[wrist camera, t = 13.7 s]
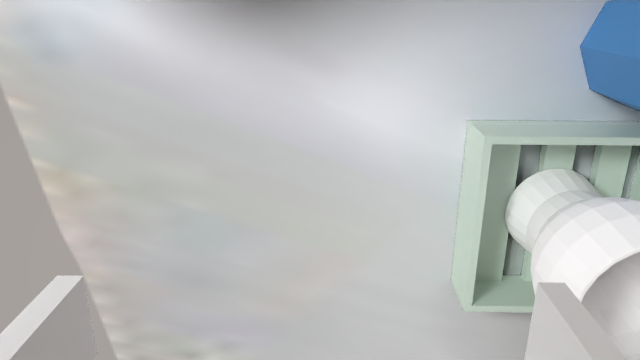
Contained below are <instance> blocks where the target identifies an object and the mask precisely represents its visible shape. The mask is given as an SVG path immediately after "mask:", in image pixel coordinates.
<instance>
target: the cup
mask: <svg viewBox="0 0 640 360" xmlns="http://www.w3.org/2000/svg"><path fill="white" fill-rule="evenodd" d="M505 221H506V225H507V229H508V231H509V232H510V234H511V236H512V237H513V238H514V239H515V240H516V241H517V242H518V243H519V244H520V245H521V246H522V247H523V248H525V249H526V250H527V251H528V252H529V253H531V254H532V257H531V268H530V270H531V276H532V283H533V288H534V293H535V295H536V290H537V284H538V282H551V283H566V285H567V286H568V287H569V288H570V290H571V291H572V292H573V293H574V295H575V296H576V297H577V298H578V300H579V301H580V302H581V303H582V305H583V306H584V307H585V308H586V310H587V311H588V312H589V313H590V315H591V316H592V317H593V318H594V320H595V321H596V322H597V323H598V325H599V326H600V327H601V328H602V330H603V331H604V332H605V333H606V335H607V336H608V337H609V338H610V339H611V341H612V342H613V343H614V344H615V346H616V347H617V348H618V349H619V351H620V352H621V353H622V354H623V356H624V357H625V358H626V359H627V360H640V201H635V200H630V199H625V198H620V197H602V196H601V195H600V193H599V192H598V191H597V190H596V188H595V187H594V186H593V185H592V184H591V183H590V182H589V181H588V180H587V179H586V178H585V177H584V176H582V175H580V174H578V173H576V172H575V171H571V170H566V169H548V170H545V171H541V172H538V173H536V174H534V175H532V176H530V177H528V178H527V179H525V180H524V181H523V182H522V183H521V184H520V185H519V186H518V187H516V189H515V190H514V192H513V193H512V195H511V196H510V198H509V201H508V203H507V206H506V213H505Z"/></svg>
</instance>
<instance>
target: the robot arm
mask: <svg viewBox="0 0 640 360" xmlns="http://www.w3.org/2000/svg"><path fill="white" fill-rule="evenodd" d="M96 355H97V348H96V342H95V337H94V331H93V326H92V321H91V315H90V310H89V304H88V299H87V294H86V288H85V283H84V277H83V276H56V278H54V280H52V282H51V283H50V284H49V285H48V286H47V287H46V288H45V289H44V290H43V291H42V292H41V293H40V294H39V295H38V296H37V297H36V298H35V299H34V300H33V301H32V302H31V303H30V304H29V305H28V306H27V307H26V308H25V309H24V310H23V311H22V312H21V313H20V314H19V315H18V317H16V318H15V319H14V320H13V322H12V323H11V324H10V325H9V326H8V327H7V328H6V329H5V330H4V331H3V332H2V333H1V334H0V360H93V359H94V358H95V357H96ZM524 360H627V359H626V358H625V357H624V356H623V354H622V353H621V352H620V351H619V349H618V348H617V347H616V346H615V344H614V343H613V342H612V341H611V339H610V338H609V337H608V336H607V335H606V333H605V332H604V331H603V330H602V328H601V327H600V326H599V325H598V323H597V322H596V321H595V320H594V318H593V317H592V316H591V315H590V313H589V312H588V311H587V310H586V308H585V307H584V306H583V305H582V303H581V302H580V301H579V300H578V298H577V297H576V296H575V295H574V293H573V292H572V291H571V290H570V288H569V287H568V286H567V285H566V283H551V282H538V284H537V290H536V295H535V301H534V307H533V313H532V318H531V324H530V330H529V335H528V341H527V347H526V353H525V358H524Z"/></svg>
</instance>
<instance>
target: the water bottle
mask: <svg viewBox="0 0 640 360" xmlns="http://www.w3.org/2000/svg"><path fill="white" fill-rule="evenodd" d="M580 48H581V53H582V57H583V62H584V66H585V71H586V75H587V80H588V84H589V89H591V90H593V91H595V92H597V93H599V94H602V95H604V96H606V97H608V98H610V99H613V100H615V101H617V102H619V103H621V104H623V105H626V106H628V107H630V108H633V109H636V110H638V111H640V0H610V1H608V2H606V3H605V5H604V7H603V9H602V10H601V12H600V14H599V15H598V17H597V19H596V20H595V22H594V24H593V25H592V27H591V29H590V31H589V32H588V34H587V36H586V37H585V39H584V41H583V42H582V44H581V46H580Z"/></svg>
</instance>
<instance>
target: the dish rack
mask: <svg viewBox="0 0 640 360" xmlns="http://www.w3.org/2000/svg"><path fill="white" fill-rule="evenodd" d="M521 145H542V147H541V154H540V160H539V166H538V172H541V171H545V170H548V169H566V170H571V171H572V168H573V163H574V158H575V152H576V147H577V145H596V148H595V153H594V158H593V163H592V168H591V173H590V179H589V182H590V183H591V184H592V185H593V186H594V187H595V188H596V190H597V191H598V192H599V193H600V195H601V196H602V197H620V198H621V195H622V190H623V186H624V181H625V177H626V172H627V168H628V164H629V159H630V155H631V150H632V146H633V145H636V146H640V122H627V121H490V120H468V122H467V132H466V141H465V151H464V160H463V170H462V179H461V189H460V198H459V207H458V217H457V226H456V236H455V245H454V255H453V264H452V274H451V282H452V284H453V286H454V289H455V291H456V294H457V296H458V298H459V301H460V303H461V306H462V308H463V311H464V312H518V313H533V307H534V301H535V293H534V288H533V283H532V276H531V270H530V268H531V257H532V254H531V253H529V252H528V251H527V250H526V249H525V253H524V259H523V266H522V272H521V275H502V274H503V267H504V260H505V253H506V246H507V240H508V233H509V231H508V229H507V225H506V221H505V213H506V206H507V203H508V201H509V198H510V196H511V195H512V193H513V192H514V190H515V185H516V178H517V171H518V164H519V157H520V150H521ZM538 172H537V173H538ZM629 199H630V200H635V201H640V152H639V156H638V160H637V165H636V169H635V173H634V178H633V182H632V186H631V191H630V195H629Z"/></svg>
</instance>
